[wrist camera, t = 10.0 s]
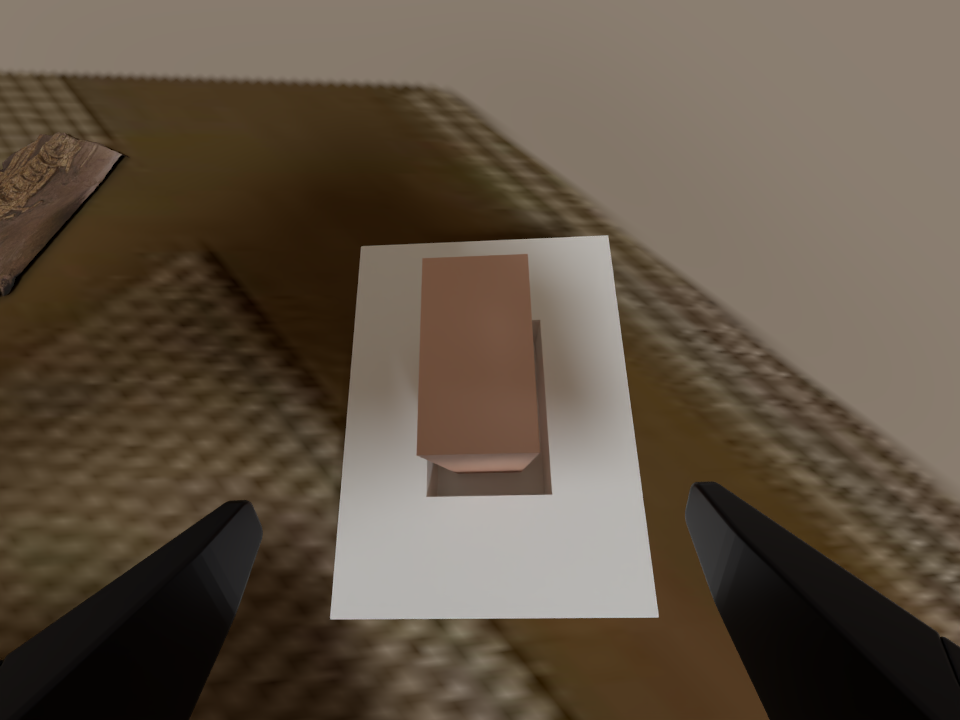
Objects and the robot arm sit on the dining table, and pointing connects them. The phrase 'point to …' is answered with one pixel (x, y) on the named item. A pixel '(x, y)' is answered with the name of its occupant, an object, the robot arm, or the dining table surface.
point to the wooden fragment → (44, 195)
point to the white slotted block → (494, 496)
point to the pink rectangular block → (477, 365)
